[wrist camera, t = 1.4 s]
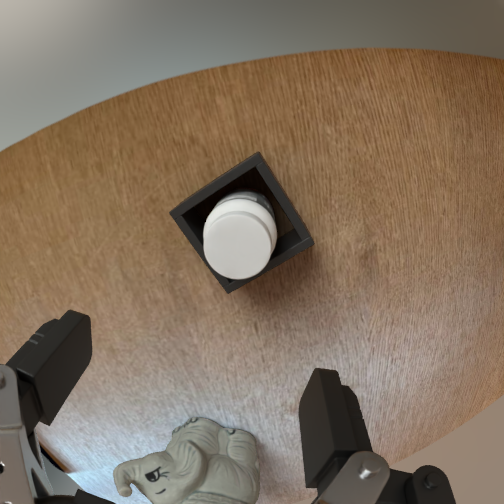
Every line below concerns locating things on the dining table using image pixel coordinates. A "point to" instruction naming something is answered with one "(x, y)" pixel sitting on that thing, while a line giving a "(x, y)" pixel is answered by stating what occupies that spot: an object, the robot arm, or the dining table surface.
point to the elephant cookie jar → (196, 467)
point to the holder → (284, 245)
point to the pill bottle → (240, 234)
